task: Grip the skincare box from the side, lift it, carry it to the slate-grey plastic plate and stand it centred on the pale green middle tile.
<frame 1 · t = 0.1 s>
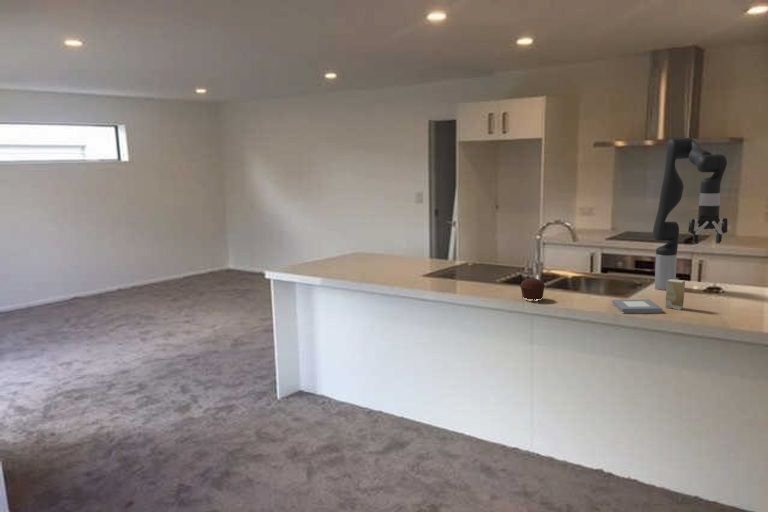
hand: (706, 243, 240), 29 cm above the countertop, tool pointing down, fingers open, 8 cm apart
muffin: (532, 300, 277), on the countertop
plate: (636, 308, 255), on the countertop
skincare box: (674, 308, 253), on the countertop
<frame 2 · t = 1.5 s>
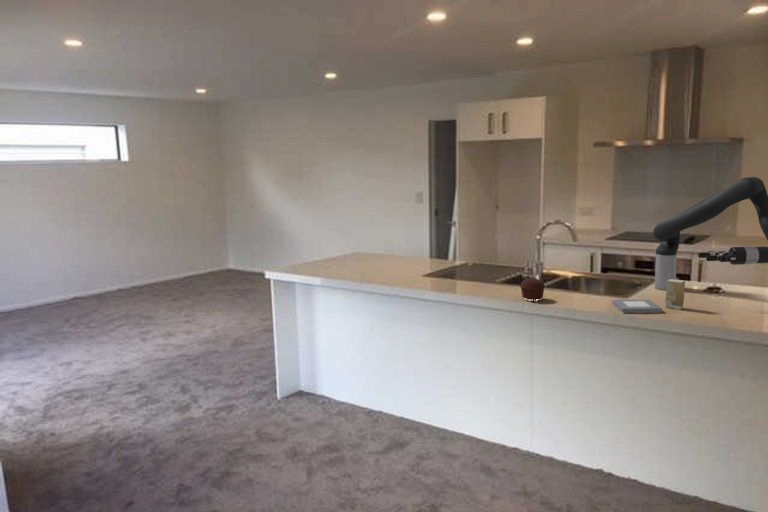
hand: (702, 256, 248), 22 cm above the countertop, tool horizontal, fingers open, 8 cm apart
nothing on the countertop moved.
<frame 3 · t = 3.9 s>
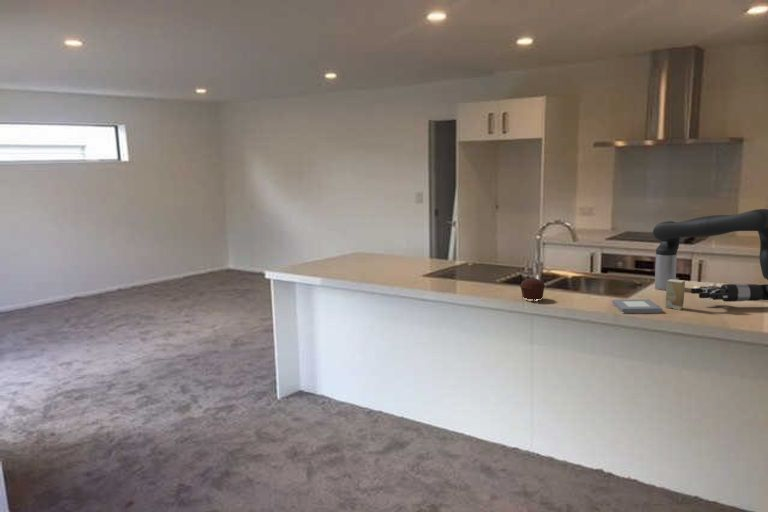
hand: (695, 293, 251), 6 cm above the countertop, tool horizontal, fingers open, 8 cm apart
nothing on the countertop moved.
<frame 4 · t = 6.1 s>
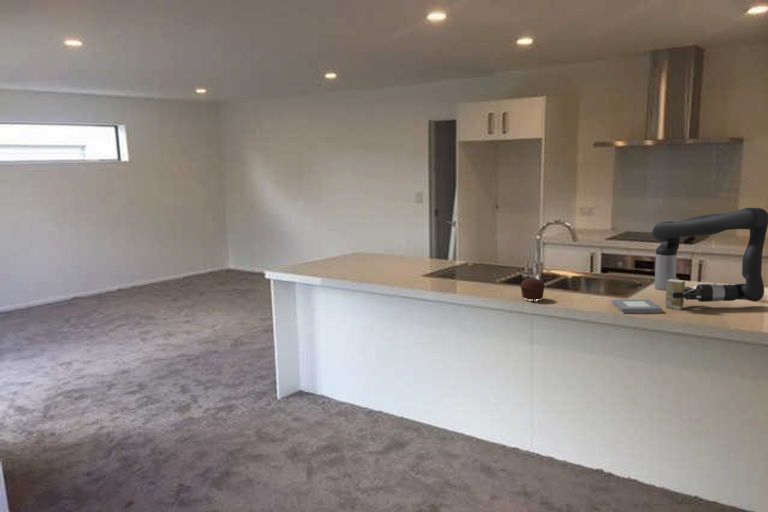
hand: (669, 293, 252), 7 cm above the countertop, tool horizontal, fingers closed on skincare box, 7 cm apart
skincare box: (674, 308, 253), on the countertop, touching gripper
everything else where it was.
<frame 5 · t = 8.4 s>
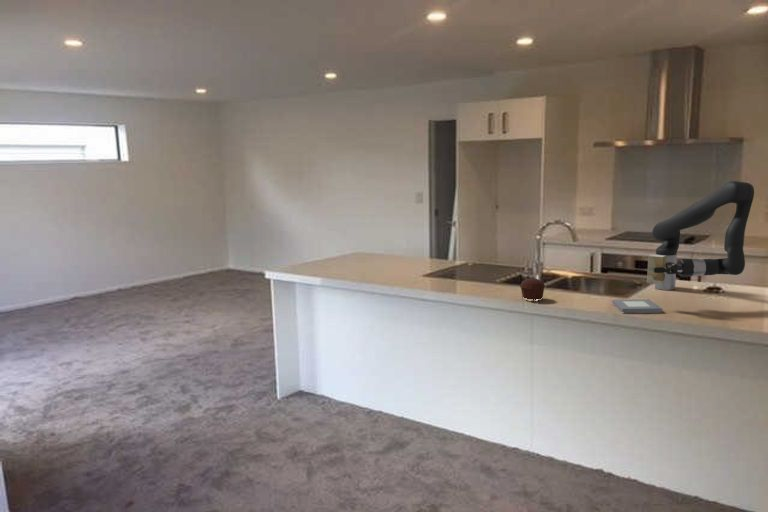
hand: (651, 268, 251), 18 cm above the countertop, tool horizontal, fingers closed on skincare box, 7 cm apart
skincare box: (656, 283, 252), point 11 cm above the countertop, touching gripper
everything else where it was.
when the fingers open (10 cm above the countertop, at t = 11.0 s): skincare box drops 1 cm, resting on plate.
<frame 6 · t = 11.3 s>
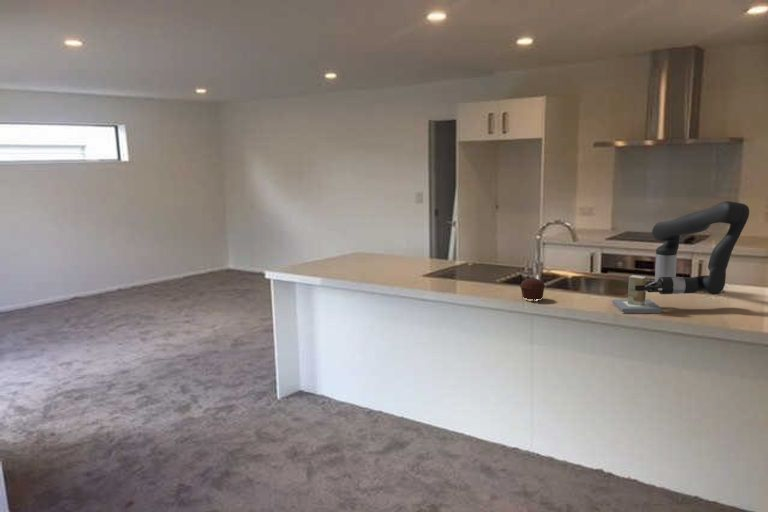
hand: (632, 286, 253), 10 cm above the countertop, tool horizontal, fingers open, 8 cm apart
skincare box: (636, 304, 254), point 2 cm above the countertop, touching plate
everything else where it was.
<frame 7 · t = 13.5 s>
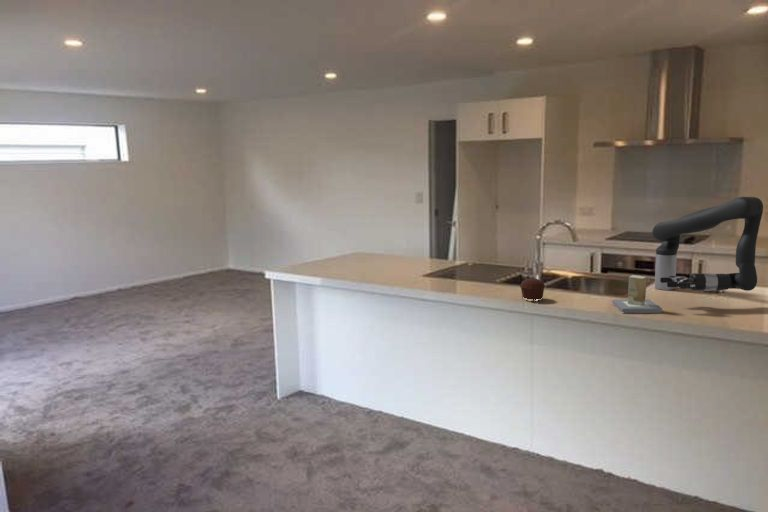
hand: (663, 282, 252), 11 cm above the countertop, tool horizontal, fingers open, 8 cm apart
nothing on the countertop moved.
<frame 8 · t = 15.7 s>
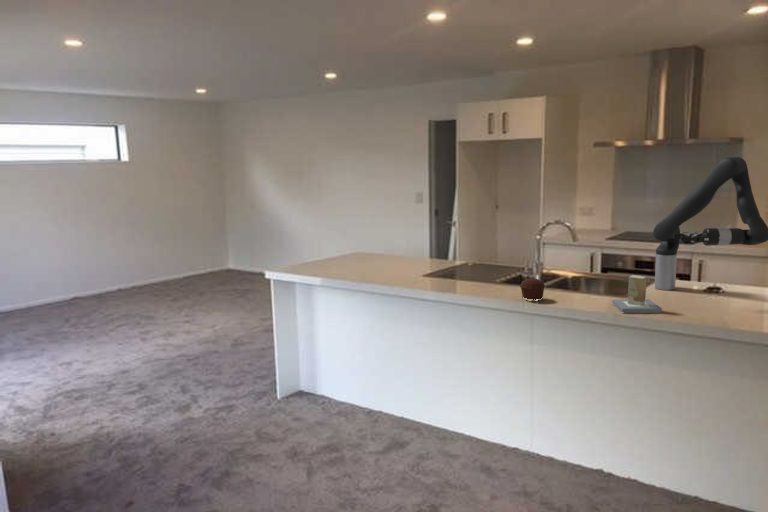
hand: (677, 237, 253), 30 cm above the countertop, tool horizontal, fingers open, 8 cm apart
nothing on the countertop moved.
at the end: skincare box inside the target area on the plate (0.1 cm from its centre), point 1.8 cm above the plate's base; skincare box tilted 0°; the gripper is holding nothing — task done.
